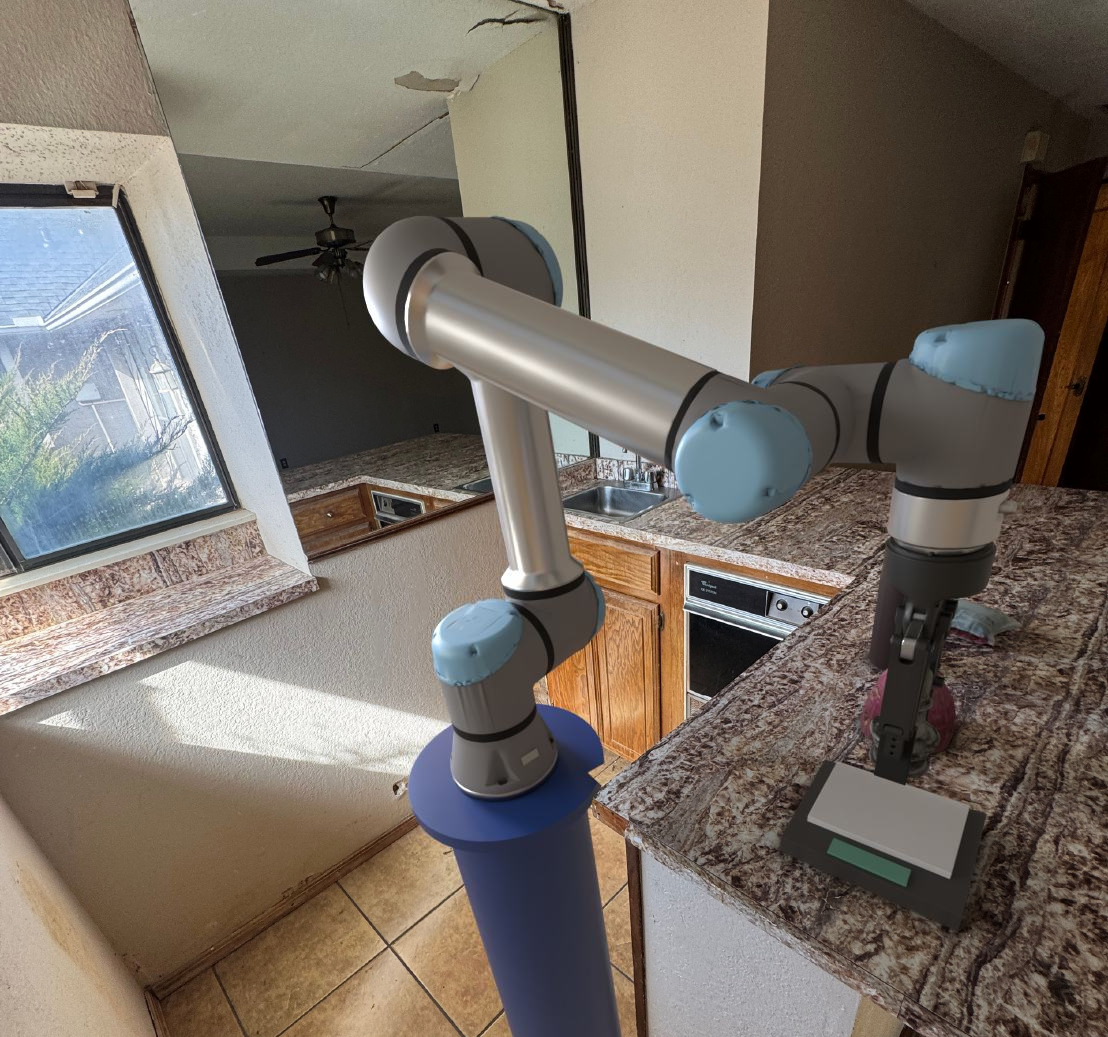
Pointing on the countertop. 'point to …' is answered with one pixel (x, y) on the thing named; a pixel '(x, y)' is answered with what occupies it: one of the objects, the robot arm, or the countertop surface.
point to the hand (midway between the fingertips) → (898, 757)
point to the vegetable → (938, 714)
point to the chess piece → (924, 738)
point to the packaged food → (979, 622)
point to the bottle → (884, 624)
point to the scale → (888, 840)
